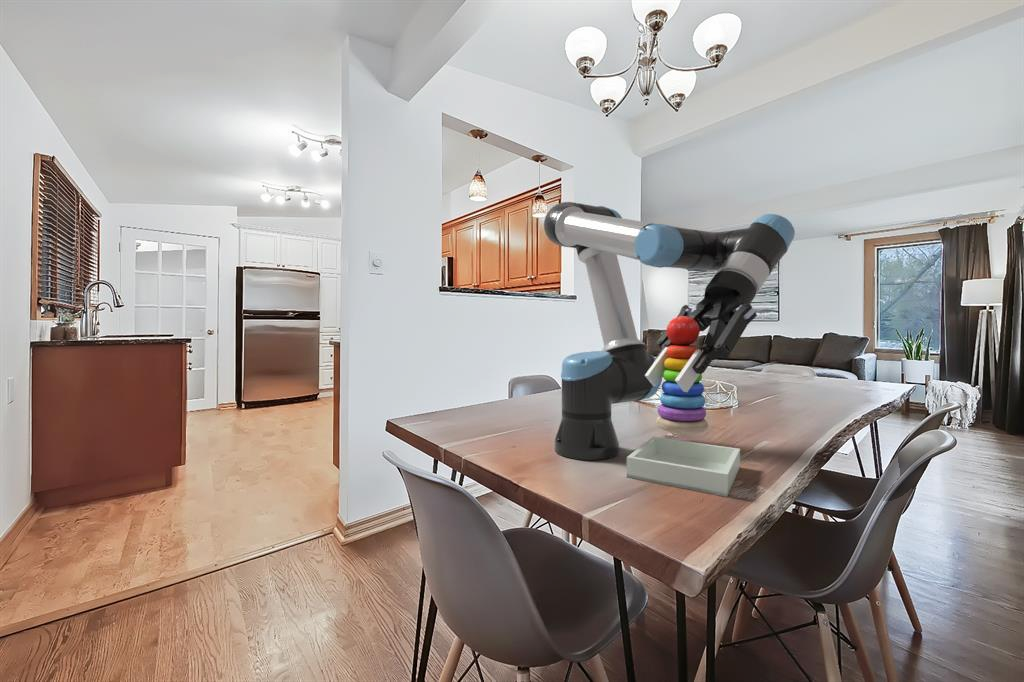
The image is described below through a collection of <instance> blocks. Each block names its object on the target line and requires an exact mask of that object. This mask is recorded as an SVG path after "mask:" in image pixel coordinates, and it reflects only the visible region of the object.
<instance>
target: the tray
mask: <svg viewBox="0 0 1024 682" xmlns="http://www.w3.org/2000/svg"><path fill="white" fill-rule="evenodd" d="M740 468H741V448H738V447H737V448H736V447H729V446H723V445H715V444H707V443H700V442H694V441H693V442H692V441H687V440H678V439H671V438H664V437H656V436H652V437H651V438H649V439H648V440H647V441H646V442H644V443H643V444H642V445H640V446H639V447H637V449H635V450H634V451H632V453H630V454H629V455H627V456H626V478H629V479H635V480H640V481H644V482H645V481H646V482H650V483H655V484H659V485H660V484H661V485H665V486H670V487H676V488H679V489H685V490H690V491H694V492H695V491H696V492H700V493H706V494H710V495H716V496H720V497H726V498H728V497H729V494H730V492H731V490H732V487H733V485H734V482H735V480H736V477H737V476H738V473H739V471H740Z"/></svg>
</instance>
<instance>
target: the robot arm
mask: <svg viewBox="0 0 1024 682" xmlns="http://www.w3.org/2000/svg"><path fill="white" fill-rule="evenodd" d="M789 220H790V219H789ZM789 220H788V219H787V218H786V217H785V216H782V215H779V214H776V213H766V214H763V215H761V216H759V217H757V218H756V219H755V220H754V221H753V222H751V223H750V226H749V227H747V228H746V227H745V228H738V229H734V230H733V229H732V230H725V231H716V232H715V231H706V230H699V229H691V228H684V227H679V226H672V225H667V224H664V223H663V224H662V223H659V224H658V223H653V222H647V221H640V220H635V219H629V218H628V219H627V218H623V217H622V215H621V214H620V213H619V212H618V211H617V210H614V209H612V208H608V207H606V206H603V205H599V206H598V205H597V206H596V205H589V204H586V203H577V202H572V201H566V202H565V201H564V202H560V203H557V204H555V205H554V206H552V207H551V208H550V209H549V210H548V211H547V213H546V215H545V216H544V220H543V229H544V232H545V235H546V237H547V239H548V240H549V241H550V242H551V243H553V244H554V245H557V246H560V247H565V248H572V249H576V254H577V258H578V260H579V262H582V263H584V264H585V268H586V271H587V272H586V273H587V276H588V280H589V284H590V285H589V286H590V288H591V294H592V297H593V302H594V308H595V312H596V315H597V321H598V325H599V328H600V333H601V337H602V342H603V348H602V350H592V351H584V352H583V351H582V352H576V353H572V354H568V355H566V356H565V358H563V360H562V362H561V363H562V364H561V373H560V378H561V419H560V422H559V426H558V429H557V433H556V434H555V439H554V451H555V453H557V454H558V455H560V456H563V457H565V458H570V459H574V460H575V459H576V460H584V461H585V460H587V461H597V460H598V461H600V460H606V459H610V458H611V459H612V458H614V457H617V456H618V455H619V453H620V443H619V438H618V436H617V433H616V428H615V427H614V426H615V425H614V423H613V420H612V405H615V404H623V403H630V402H634V403H635V402H639V401H642V400H647V399H650V398H652V397H654V395H656V394H657V393H658V391H659V388H660V387H661V386H662V383H663V379H664V378H663V373H664V371H665V370H667V368H666V367H665V366H664V362H665V360H666V359H667V358H670V357H669V356H668V355H667V348H668V347H669V346H671V345H676V344H673V343H672V342H671V341H670V340H669V339H668V336H667V329H666V330H665V331H664V332H663V333H662V335H661V336H660V337H659V338H658V340H656V344H657V345H658V347H659V348H660V352H659V353H658V354H657V355H656V357H655V356H654V355H652V354H649V353H648V351H647V347H646V343H645V342H643V341H641V340H640V339H639V338H638V335H637V332H636V327H635V324H634V319H633V315H632V310H631V308H630V303H629V299H628V295H627V290H626V287H625V283H624V278H623V275H622V270H621V267H620V263H619V259H618V256H620V257H626V258H629V259H633V260H637V261H639V262H640V263H642V264H643V265H645V266H650V267H653V268H660V269H661V268H671V269H672V268H673V269H675V268H676V269H683V270H687V271H689V272H697V273H698V272H701V273H706V272H708V271H709V272H713V271H717V272H716V274H714V276H713V277H712V278H711V280H710V281H709V282H708V283H707V285H706V287H705V289H704V297H703V299H702V300H700V301H699V302H698V303H697V304H696V306H692V307H689V306H688V304H684V305H683V306H681V308H680V310H679V313H678V314H677V316H676V317H679V316H687V317H690V318H692V319H694V320H695V321H696V322H697V324H698V326H699V331H700V332H705V330H706V329H707V328H708V331H707V334H706V336H705V339H704V343H703V344H700V345H699V346H700V348H701V349H699V350H696V351H695V352H694V354H693V355H692V356H691V358H690V359H689V361H688V362H687V364H686V365H685V366H684V368H683V369H682V371H681V372H680V373H679V375H678V376H677V378H676V379H675V381H676V383H677V384H678V385H679V386H680V388H681V389H682V390H683V392H688V391H689V389H690V388H691V386H692V385H693V383H694V382H695V380H696V379H697V377H698V376H699V375H700V374H704V373H705V371H706V370H707V369H708V367H709V366H710V364H711V363H712V361H715V360H716V359H717V358H721V359H723V360H724V359H727V358H729V356H730V355H731V353H732V351H733V350H734V348H735V347H736V345H737V343H738V342H739V340H740V338H741V336H742V335H743V333H744V331H745V330H746V328H747V326H748V325H749V324H750V323H751V322H752V321H753V320H754V319H755V318H756V317H757V315H758V314H757V313H756V311H755V309H754V307H753V306H752V301H754V299H755V297H756V296H757V294H758V292H759V291H760V290H761V288H762V287H763V285H764V283H766V281H767V280H768V278H769V277H770V275H771V273H772V272H773V270H774V269H775V267H776V266H777V265H778V263H779V262H780V261H781V259H782V258H783V257H784V255H786V253H787V252H788V250H789V247H790V246H791V244H792V242H793V240H794V238H795V236H796V235H795V234H796V233H795V227H794V226H793V224H792V222H791V221H789Z"/></svg>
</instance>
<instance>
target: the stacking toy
mask: <svg viewBox="0 0 1024 682" xmlns="http://www.w3.org/2000/svg"><path fill="white" fill-rule="evenodd" d="M666 330H667V336H668V339H669V340H670V341H671V342H672V343H673V344H676V345H671V346H669V347H668V348H667V355H668V356H669V357H670V358H667V359H666V360H665V362H664V366H665V367H666V368H667V370H665V371H664V373H663V378H662V379H664V381H662V382H661V390H662V393H661V394H660V396H659V399H660V403H661V404H660V405H659V406H658V407H657V413H658V416H657V418H656V425H657V427H658V428H660V429H661V430H663V431H666V432H669V433H674V434H680V435H681V434H683V435H695V434H701V433H704V432H706V431H707V429H708V428H709V423H708V421H707V419H705V418H706V417H707V416H706V415H707V410H706V409H705V407H704V405H705V404H706V397H705V396H704V395H703V393H704V392H705V386H704V384H703V383H702V382H701V381H702V378H703V375H702V374H703V373H702V374H700V375H699V376H698V377H697V379H696V380H695V382H694V383H693V385H692V386H691V388H690V389H689V391H688V392H683V390H682V389H681V388H680V386H679V385H678V384H677V383H676V381H675V379H676V378H677V376H678V375H679V373H680V372H681V371H682V369H683V368H684V366H685V365H686V364H687V362H688V361H689V359H690V358H691V356H692V355H693V354H694V352H695V351H696V350H700V349H699V348H698V346H696V345H692V344H694V343H695V342H696V341H697V340H698V338H699V336H700V332H701V331H699V326H698V324H697V322H696V321H695V320H694V319H692V318H690V317H687V316H679V317H677V316H676V317H674V318H672V319H671V320H670V321H669V322H668V325H667V327H666Z"/></svg>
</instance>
